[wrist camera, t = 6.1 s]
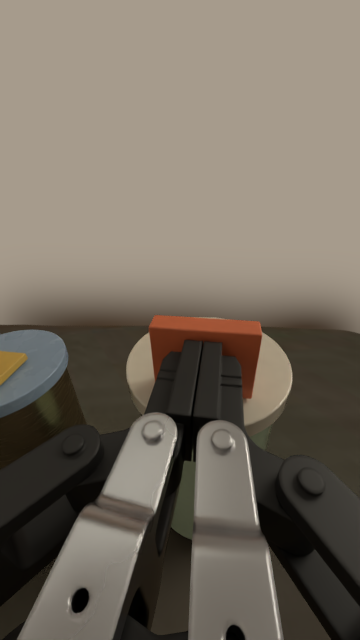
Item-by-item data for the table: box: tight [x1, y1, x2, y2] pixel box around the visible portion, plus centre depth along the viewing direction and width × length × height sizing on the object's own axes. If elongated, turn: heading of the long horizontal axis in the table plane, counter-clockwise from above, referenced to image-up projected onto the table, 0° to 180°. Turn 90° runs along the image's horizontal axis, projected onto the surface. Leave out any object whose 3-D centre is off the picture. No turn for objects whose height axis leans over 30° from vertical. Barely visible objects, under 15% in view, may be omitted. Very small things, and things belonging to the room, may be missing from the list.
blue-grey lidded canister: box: [0, 330, 87, 470], centre depth 20 cm, size 8×8×11 cm
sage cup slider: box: [149, 315, 262, 399], centre depth 13 cm, size 4×5×4 cm
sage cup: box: [126, 317, 293, 540], centre depth 17 cm, size 9×9×13 cm
